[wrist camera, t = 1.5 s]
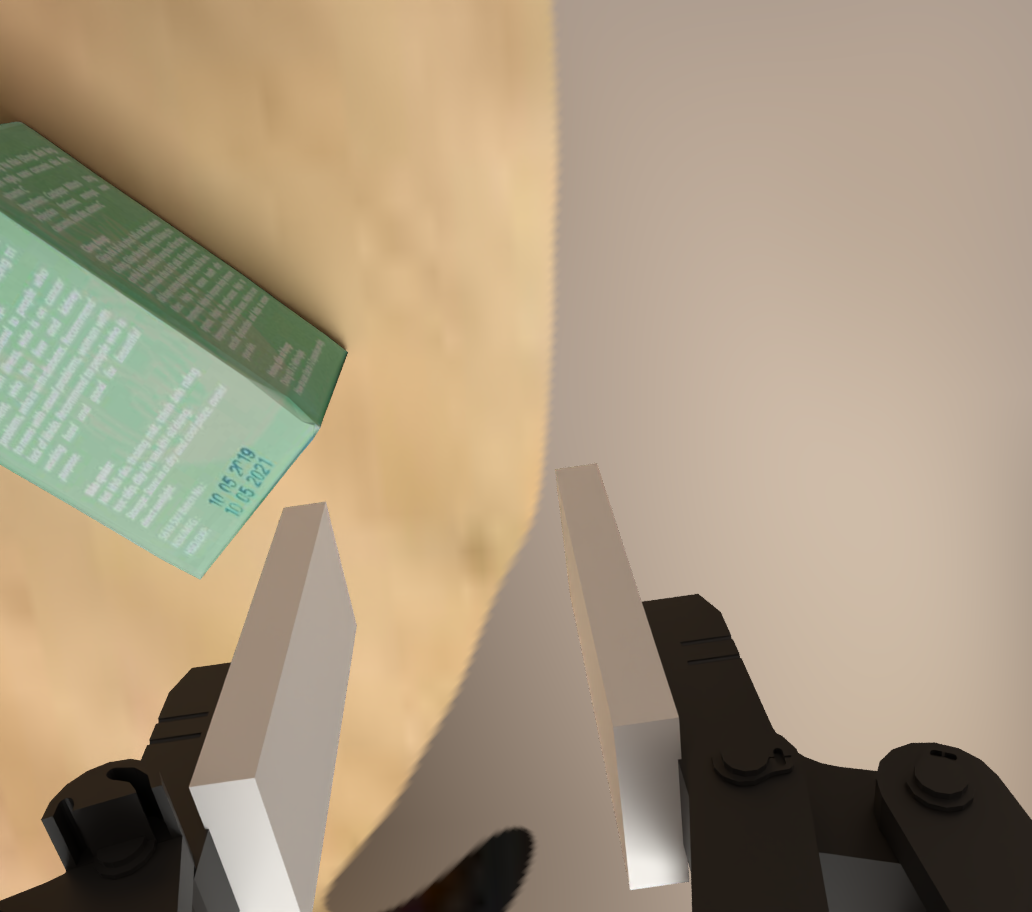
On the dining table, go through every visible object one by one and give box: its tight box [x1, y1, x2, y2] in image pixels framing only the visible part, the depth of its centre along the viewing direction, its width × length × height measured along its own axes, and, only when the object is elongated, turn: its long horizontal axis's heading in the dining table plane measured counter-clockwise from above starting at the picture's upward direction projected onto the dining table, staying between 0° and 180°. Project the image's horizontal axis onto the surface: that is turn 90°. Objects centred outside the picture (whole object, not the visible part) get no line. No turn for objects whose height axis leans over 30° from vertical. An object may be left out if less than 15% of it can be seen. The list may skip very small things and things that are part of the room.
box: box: [0, 122, 348, 579], centre depth 30 cm, size 7×14×8 cm, turn 51°
